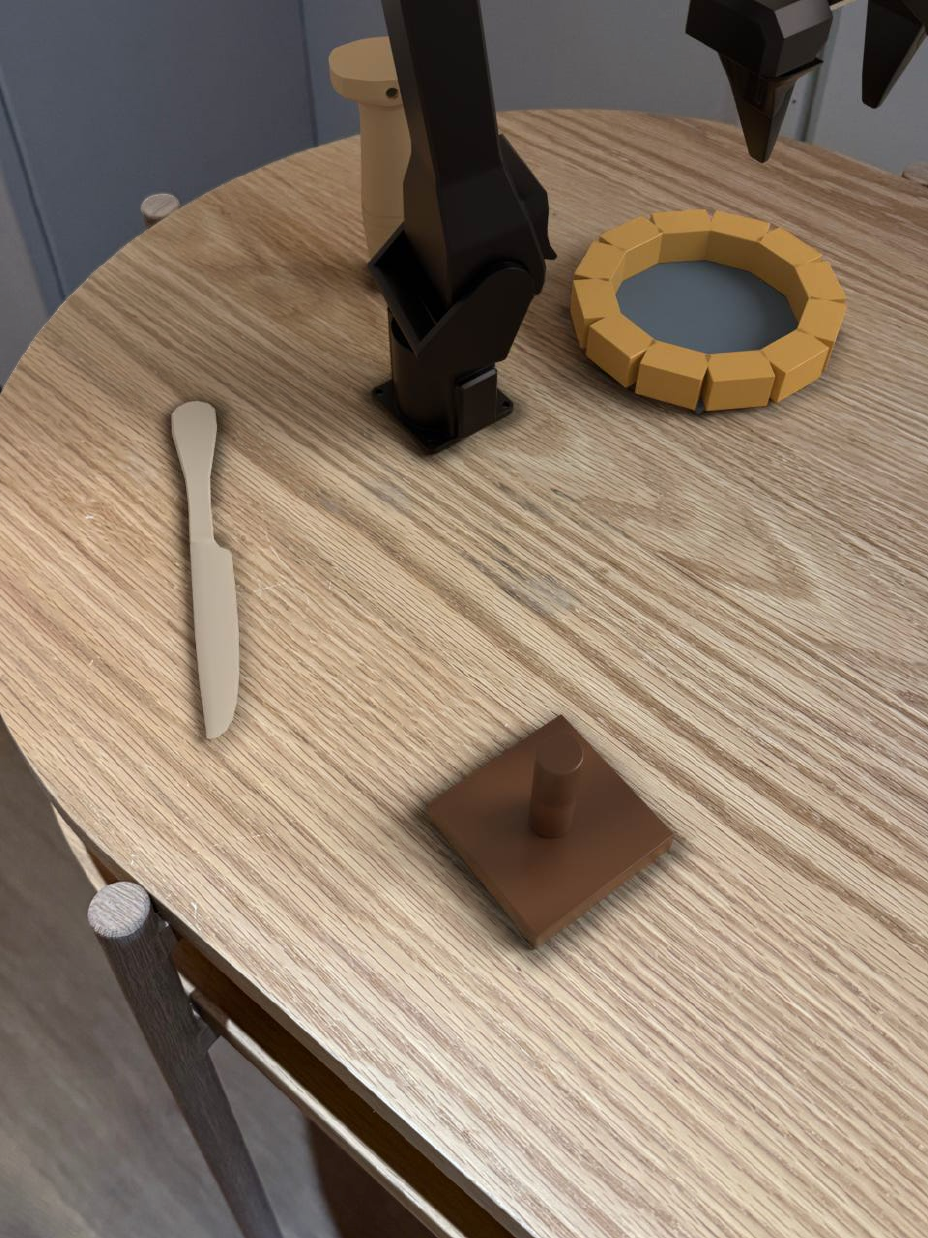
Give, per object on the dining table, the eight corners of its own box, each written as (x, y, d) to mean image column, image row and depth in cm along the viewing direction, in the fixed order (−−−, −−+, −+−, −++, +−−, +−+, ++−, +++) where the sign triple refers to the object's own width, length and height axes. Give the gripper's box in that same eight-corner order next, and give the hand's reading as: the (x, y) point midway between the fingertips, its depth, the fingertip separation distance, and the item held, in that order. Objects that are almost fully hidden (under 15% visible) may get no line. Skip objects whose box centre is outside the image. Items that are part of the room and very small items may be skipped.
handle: (449, 292, 77) (447, 73, 65) (354, 304, 76) (334, 85, 64) (436, 248, 79) (432, 31, 67) (344, 259, 79) (323, 42, 67)
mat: (570, 312, 75) (571, 306, 75) (702, 245, 80) (703, 239, 79) (697, 414, 70) (699, 408, 69) (832, 336, 74) (834, 330, 74)
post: (428, 817, 54) (424, 735, 48) (559, 729, 57) (571, 641, 51) (535, 950, 50) (546, 880, 44) (670, 848, 53) (697, 769, 47)
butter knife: (218, 396, 70) (169, 402, 69) (246, 731, 56) (186, 740, 56) (219, 401, 70) (171, 407, 70) (248, 735, 56) (187, 745, 56)
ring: (520, 302, 75) (522, 271, 73) (705, 211, 81) (711, 180, 79) (699, 449, 67) (706, 419, 65) (889, 336, 73) (900, 305, 71)
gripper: (904, -70, 45) (807, 264, 58) (1177, -181, 52) (1037, 140, 64) (705, -161, 50) (656, 163, 63) (977, -252, 57) (883, 58, 70)
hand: (815, 131), depth 65 cm, fingers open, 9 cm apart
